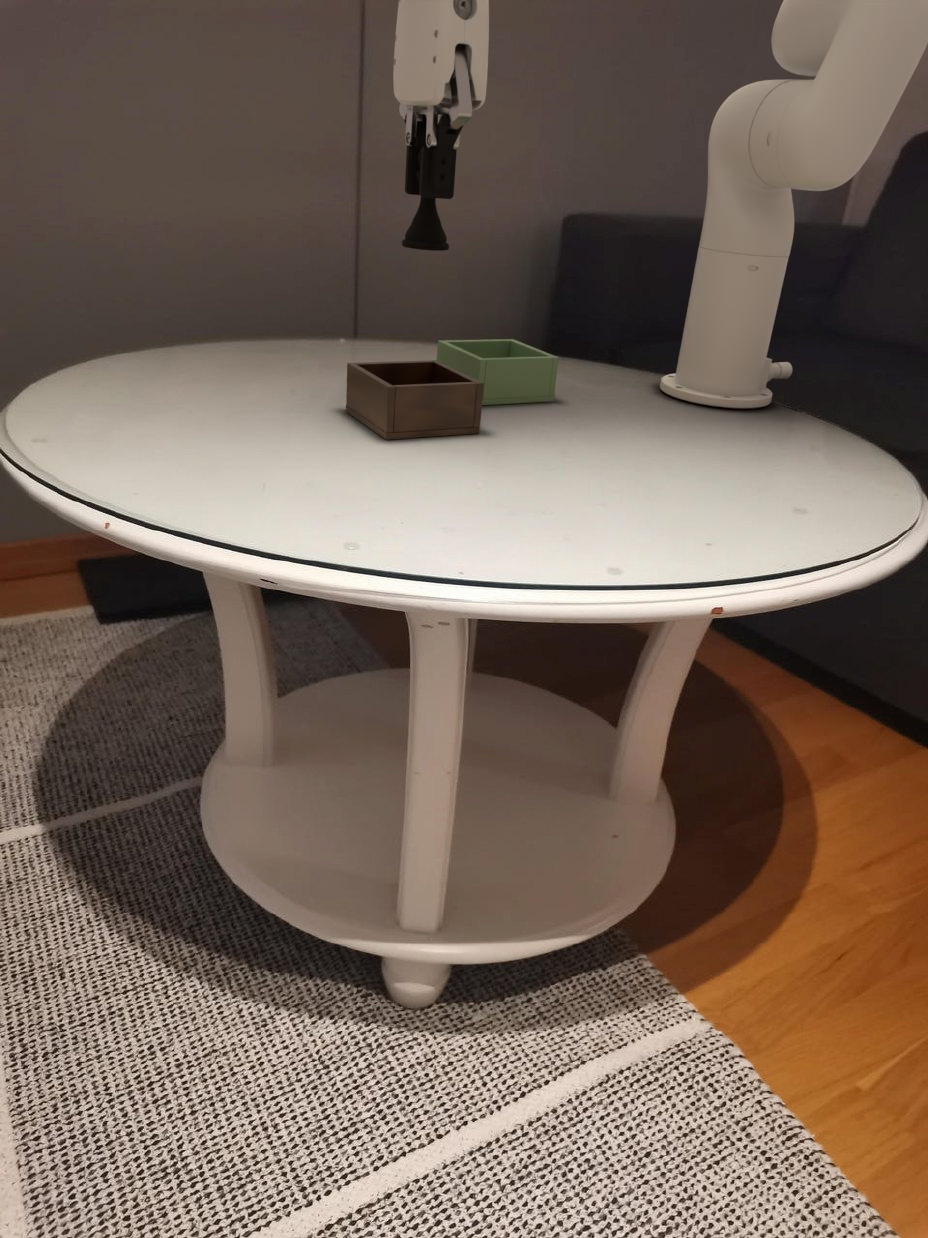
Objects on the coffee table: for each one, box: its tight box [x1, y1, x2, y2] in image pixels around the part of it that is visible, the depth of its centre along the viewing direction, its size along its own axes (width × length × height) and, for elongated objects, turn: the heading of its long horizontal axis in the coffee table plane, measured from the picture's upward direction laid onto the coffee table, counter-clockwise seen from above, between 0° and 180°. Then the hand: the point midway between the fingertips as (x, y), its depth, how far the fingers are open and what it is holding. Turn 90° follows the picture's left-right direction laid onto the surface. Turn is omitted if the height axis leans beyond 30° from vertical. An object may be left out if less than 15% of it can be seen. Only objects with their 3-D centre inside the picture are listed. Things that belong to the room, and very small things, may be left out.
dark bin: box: [345, 359, 484, 441], centre depth 87 cm, size 9×9×5 cm
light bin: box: [436, 338, 560, 406], centre depth 100 cm, size 9×9×5 cm
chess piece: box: [401, 151, 450, 252], centre depth 86 cm, size 4×4×10 cm
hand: (428, 194), depth 86 cm, fingers closed on chess piece, 2 cm apart
